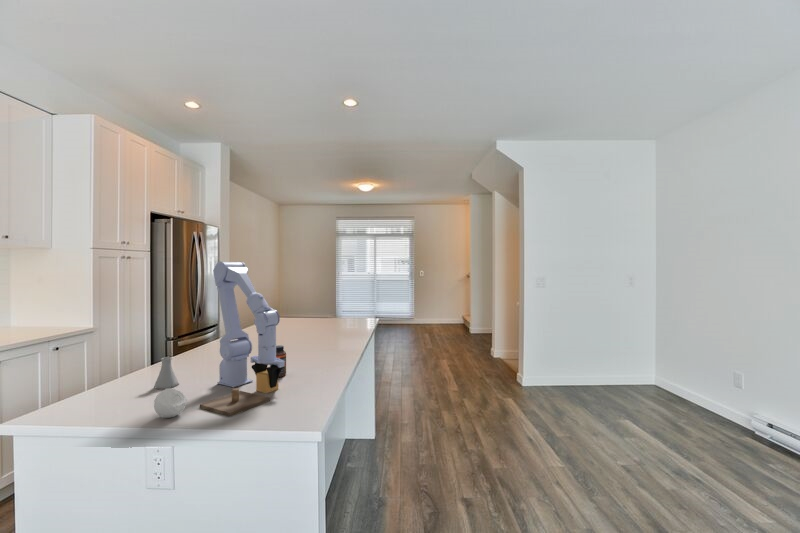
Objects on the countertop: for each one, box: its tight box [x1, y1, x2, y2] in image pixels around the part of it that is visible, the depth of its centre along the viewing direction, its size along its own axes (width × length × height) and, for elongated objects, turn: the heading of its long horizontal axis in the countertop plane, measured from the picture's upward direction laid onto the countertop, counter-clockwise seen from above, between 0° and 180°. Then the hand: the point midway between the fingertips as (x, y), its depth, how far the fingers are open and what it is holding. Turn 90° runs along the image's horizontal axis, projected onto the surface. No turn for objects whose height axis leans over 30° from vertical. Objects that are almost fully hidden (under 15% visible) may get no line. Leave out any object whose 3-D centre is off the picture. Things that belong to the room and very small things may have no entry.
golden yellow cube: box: [255, 370, 279, 394], centre depth 127 cm, size 5×5×6 cm
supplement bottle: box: [269, 344, 287, 378], centre depth 144 cm, size 6×6×11 cm
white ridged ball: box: [153, 387, 188, 419], centre depth 105 cm, size 8×8×8 cm
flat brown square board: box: [199, 387, 271, 417], centre depth 114 cm, size 14×14×4 cm
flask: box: [153, 356, 180, 390], centre depth 132 cm, size 7×7×10 cm
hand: (267, 385), depth 127 cm, fingers closed on golden yellow cube, 5 cm apart
